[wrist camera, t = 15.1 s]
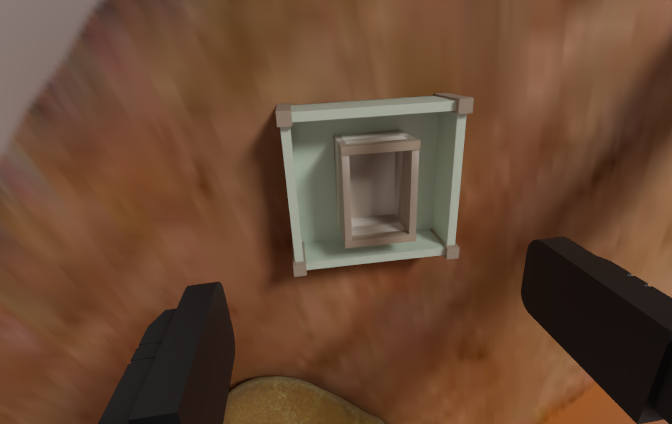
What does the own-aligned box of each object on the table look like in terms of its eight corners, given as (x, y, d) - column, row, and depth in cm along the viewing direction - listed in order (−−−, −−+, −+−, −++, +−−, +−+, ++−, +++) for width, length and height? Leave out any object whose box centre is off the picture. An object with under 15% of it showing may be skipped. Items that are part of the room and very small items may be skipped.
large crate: (446, 92, 34) (473, 97, 29) (437, 233, 40) (458, 258, 35) (277, 103, 32) (275, 111, 28) (293, 249, 38) (294, 276, 33)
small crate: (400, 129, 34) (420, 141, 29) (398, 216, 38) (416, 241, 32) (332, 134, 33) (340, 147, 28) (337, 222, 37) (345, 248, 32)
